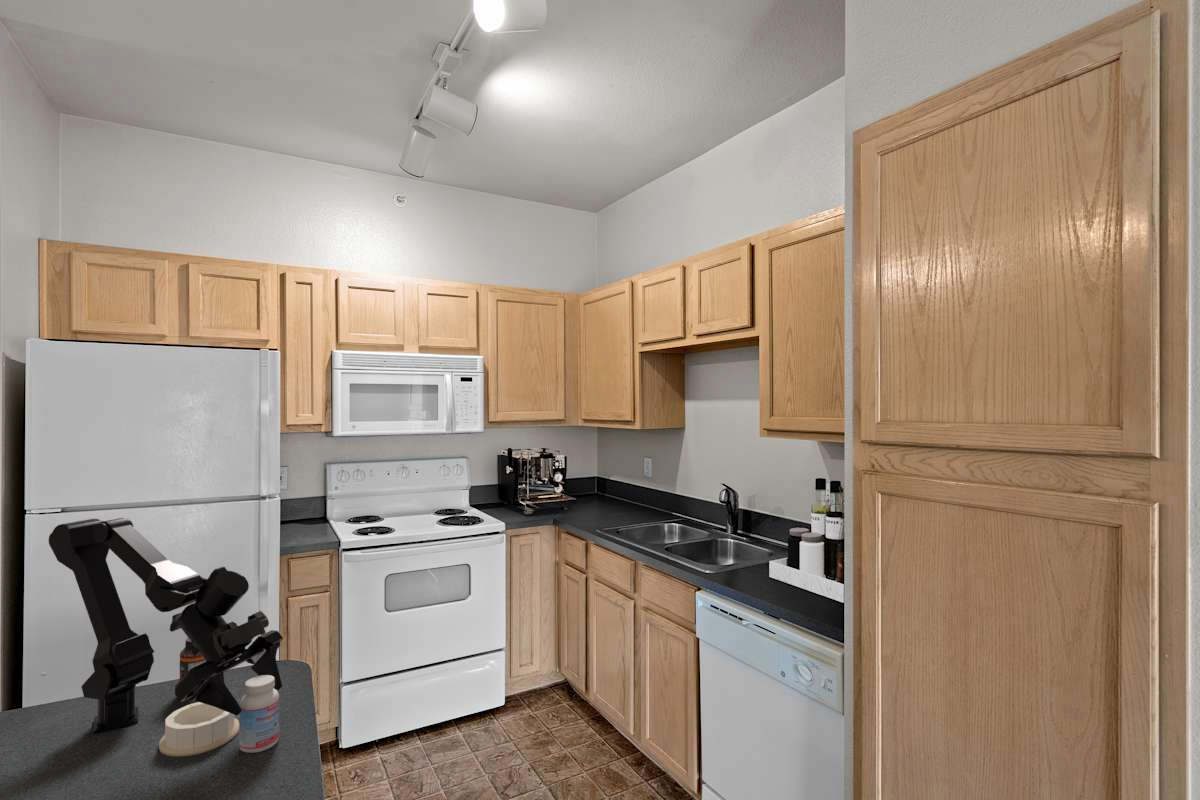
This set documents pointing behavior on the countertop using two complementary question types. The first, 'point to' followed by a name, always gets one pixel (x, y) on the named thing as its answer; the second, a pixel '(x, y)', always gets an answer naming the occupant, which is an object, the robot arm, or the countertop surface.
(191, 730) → the socket dock
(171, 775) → the countertop surface
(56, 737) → the countertop surface
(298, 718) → the countertop surface
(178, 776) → the countertop surface
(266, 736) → the pill bottle
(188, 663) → the supplement bottle
